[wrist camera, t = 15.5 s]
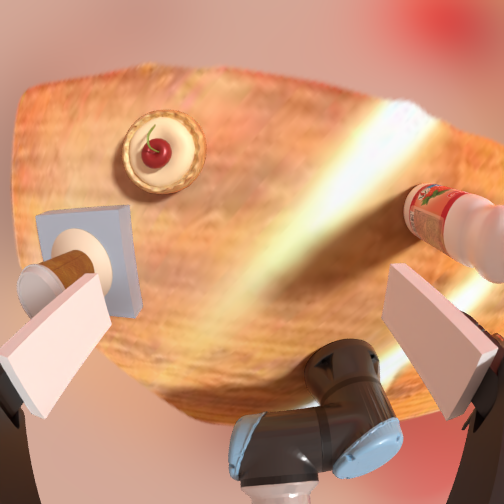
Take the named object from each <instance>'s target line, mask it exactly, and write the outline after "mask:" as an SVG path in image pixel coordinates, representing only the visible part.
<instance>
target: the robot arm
mask: <svg viewBox="0 0 504 504" xmlns="http://www.w3.org/2000/svg"><path fill="white" fill-rule="evenodd" d="M381 318H382V320H383V321H384V323H385V324H386V326H387V327H388V328H389V330H390V331H391V333H392V334H393V336H394V337H395V339H396V340H397V342H398V343H399V345H400V346H401V348H402V349H403V351H404V352H405V354H406V355H407V357H408V358H409V360H410V361H411V363H412V365H413V366H414V368H415V369H416V371H417V372H418V374H419V376H420V377H421V379H422V380H423V382H424V384H425V385H426V387H427V389H428V390H429V392H430V393H431V395H432V397H433V398H434V400H435V402H436V404H437V405H438V407H439V409H440V410H441V412H442V414H443V416H444V417H445V419H446V420H450V419H453V418H455V417H457V416H460V415H462V414H464V412H465V411H466V409H467V407H468V405H469V404H470V402H472V403H473V404H474V406H475V409H474V410H473V412H472V413H471V415H470V416H469V418H468V419H467V421H466V422H465V424H464V426H463V428H462V430H465V428H466V427H467V425H468V424H469V429H468V434H467V438H466V443H465V447H464V451H463V455H462V458H461V462H460V466H459V468H458V472H457V475H456V478H455V481H454V484H453V487H452V490H451V492H450V495H449V498H448V500H447V503H446V504H504V348H503V347H502V346H501V345H500V344H499V343H498V342H497V341H496V340H495V339H494V338H493V337H492V336H491V335H490V334H489V333H488V332H487V331H485V330H484V328H483V327H482V326H481V325H478V322H476V321H475V320H474V319H473V318H472V317H471V316H470V315H468V314H466V313H464V312H462V311H460V310H459V309H458V308H456V307H455V306H454V305H453V304H452V303H451V302H450V301H449V300H448V299H446V298H445V297H444V296H443V295H442V294H441V293H440V292H438V291H437V290H436V289H435V288H434V287H433V286H432V285H430V284H429V283H428V282H427V281H426V280H424V279H423V278H422V277H421V276H420V275H418V274H417V273H416V272H415V271H414V270H412V269H411V268H410V267H409V266H407V265H406V264H405V263H398V264H390V269H389V276H388V283H387V289H386V295H385V301H384V307H383V312H382V317H381ZM111 325H112V323H111V320H110V317H109V313H108V310H107V306H106V303H105V299H104V295H103V292H102V288H101V284H100V280H99V275H98V273H86V274H84V275H83V276H82V277H80V278H79V279H78V280H77V281H75V282H74V283H73V284H72V285H71V286H69V287H68V288H67V289H66V290H64V291H63V292H62V293H61V294H60V295H58V296H57V297H56V298H55V299H54V300H53V301H51V302H50V303H49V304H48V305H47V306H46V307H44V308H43V309H42V310H41V311H40V312H39V313H37V314H36V315H35V316H34V317H33V318H32V319H31V320H30V321H29V322H28V323H26V324H25V325H24V326H23V327H22V328H21V329H20V330H19V331H18V332H17V333H16V334H15V335H13V336H12V337H11V338H10V339H9V340H8V341H7V342H6V343H5V344H4V345H3V346H2V347H1V348H0V504H41V501H40V498H39V495H38V491H37V487H36V483H35V479H34V474H33V470H32V465H31V460H30V454H29V448H28V441H27V435H26V427H25V415H24V412H23V410H22V409H21V405H22V403H23V402H24V403H25V405H26V406H27V408H28V409H29V411H30V412H31V414H33V415H36V416H38V417H41V418H43V419H46V417H47V416H48V414H49V413H50V411H51V409H52V408H53V406H54V405H55V403H56V402H57V400H58V399H59V397H60V395H61V394H62V393H63V391H64V390H65V388H66V387H67V385H68V384H69V382H70V381H71V379H72V378H73V377H74V375H75V374H76V372H77V371H78V369H79V368H80V366H81V365H82V364H83V362H84V361H85V360H86V358H87V357H88V355H89V354H90V353H91V351H92V350H93V349H94V347H95V346H96V345H97V343H98V342H99V341H100V339H101V338H102V337H103V335H104V334H105V333H106V331H107V330H108V329H109V327H110V326H111ZM304 377H305V382H306V386H307V388H308V390H309V392H310V393H311V394H312V396H313V397H314V399H315V400H316V401H317V403H318V404H319V405H320V406H318V407H310V408H304V409H296V410H289V411H279V412H263V413H259V414H251V415H245V416H242V417H241V418H240V419H239V420H238V421H237V422H236V424H235V426H234V428H233V431H232V435H231V439H230V445H229V455H228V457H229V458H228V462H229V473H230V476H231V477H232V478H233V479H235V480H237V481H241V490H242V491H243V492H245V493H246V494H247V495H248V496H250V498H251V500H252V504H311V502H310V493H311V491H312V490H313V489H314V488H315V487H316V486H317V484H318V483H319V480H318V473H320V472H326V471H331V470H332V472H333V474H334V475H335V476H336V477H337V478H340V479H344V478H346V479H350V478H355V477H359V476H362V475H364V474H367V473H369V472H371V471H373V470H375V469H377V468H379V467H380V466H382V465H384V464H385V463H386V462H388V461H389V460H390V459H391V458H392V457H393V456H394V455H395V454H396V453H397V452H398V451H399V449H400V448H401V445H402V443H403V434H402V431H401V428H400V425H399V420H398V418H397V417H396V415H395V413H394V411H393V409H392V406H391V404H390V402H389V400H388V398H387V396H386V394H385V392H384V390H383V388H382V385H381V383H380V366H379V359H378V356H377V354H376V352H375V350H374V349H373V347H372V346H371V345H370V344H369V343H367V342H365V341H362V340H358V339H344V340H339V341H336V342H333V343H331V344H328V345H326V346H325V347H323V348H321V349H320V350H319V351H317V352H316V353H315V354H314V355H313V356H312V357H311V358H310V360H309V361H308V363H307V365H306V367H305V371H304Z"/></svg>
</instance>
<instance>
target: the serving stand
mask: <svg viewBox="0 0 504 504" xmlns="http://www.w3.org/2000/svg"><path fill="white" fill-rule="evenodd" d="M36 223H37V229H38V235H39V241H40V246H41V251H42V256H43V261H47V260H49V259H52V258H54V257H57V256H59V255H62V254H64V253H67V252H70V251H72V250H80V251H82V252H84V253H85V254H86V255H87V256H88V257H89V258H90V260H91V261H92V263H93V266H94V272H95V273H98V275H99V280H100V284H101V288H102V292H103V295H104V299H105V303H106V306H107V310H108V313H109V316H117V317H127V318H136V316H137V315H138V313H139V312H140V310H141V309H142V308H143V303H142V297H141V292H140V286H139V280H138V274H137V267H136V260H135V252H134V245H133V236H132V227H131V217H130V205H117V206H101V207H88V208H75V209H64V210H53V211H47V212H45V213H42V214H39V215H37V216H36Z"/></svg>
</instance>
